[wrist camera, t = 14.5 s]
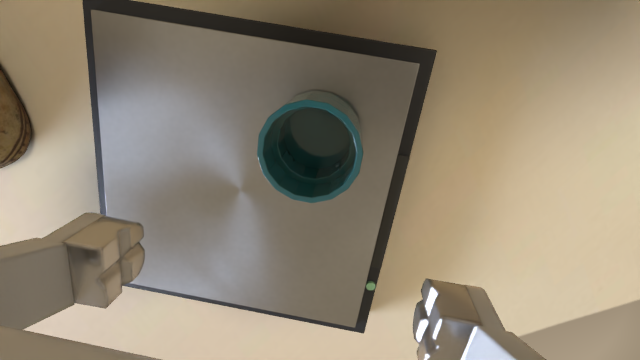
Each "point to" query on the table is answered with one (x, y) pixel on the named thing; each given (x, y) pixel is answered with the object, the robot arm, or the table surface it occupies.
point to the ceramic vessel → (12, 125)
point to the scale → (245, 155)
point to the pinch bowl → (311, 147)
